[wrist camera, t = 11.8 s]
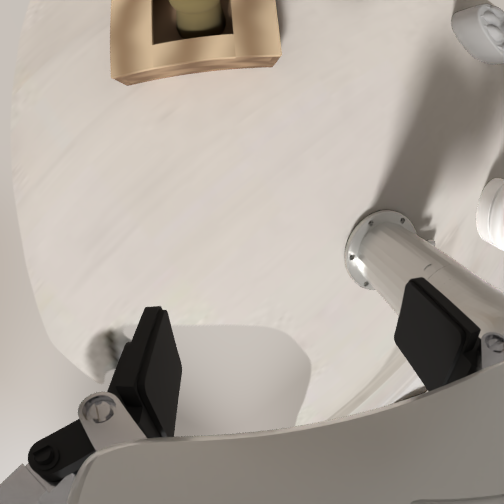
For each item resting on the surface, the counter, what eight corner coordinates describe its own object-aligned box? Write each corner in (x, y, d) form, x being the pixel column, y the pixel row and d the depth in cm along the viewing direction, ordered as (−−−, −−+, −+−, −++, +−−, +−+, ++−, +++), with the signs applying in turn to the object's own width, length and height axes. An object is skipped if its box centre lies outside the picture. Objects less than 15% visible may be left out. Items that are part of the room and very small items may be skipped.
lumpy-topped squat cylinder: (499, 68, 30) (530, 67, 22) (457, 53, 30) (493, 47, 22) (488, 22, 26) (517, 16, 18) (444, 2, 26) (475, -9, 18)
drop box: (262, -20, 25) (269, -42, 20) (272, 67, 31) (281, 54, 25) (126, -3, 24) (113, -20, 19) (127, 85, 30) (111, 77, 24)
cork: (168, 18, 26) (149, -21, 16) (212, -3, 25) (209, -47, 15) (189, 52, 28) (177, 19, 18) (234, 30, 28) (240, -9, 18)
